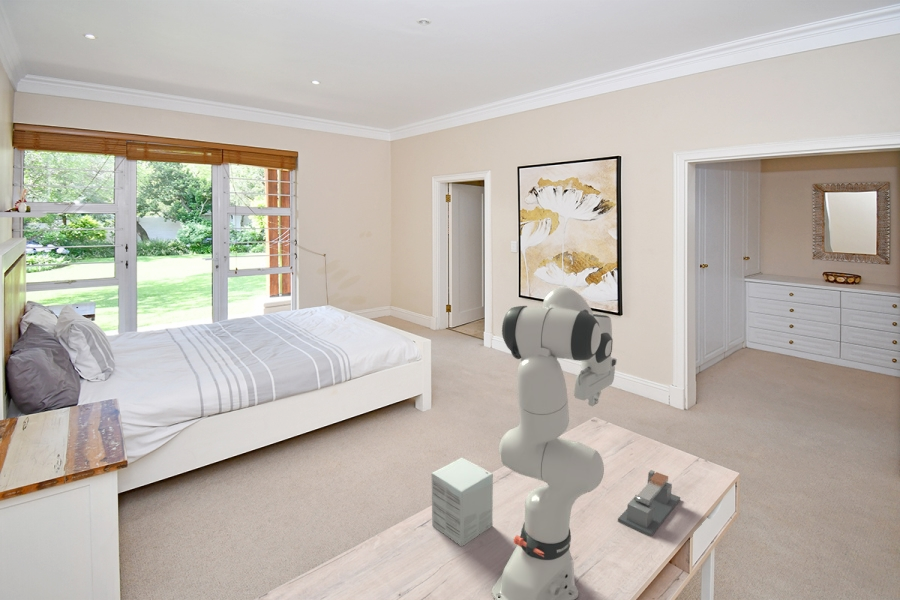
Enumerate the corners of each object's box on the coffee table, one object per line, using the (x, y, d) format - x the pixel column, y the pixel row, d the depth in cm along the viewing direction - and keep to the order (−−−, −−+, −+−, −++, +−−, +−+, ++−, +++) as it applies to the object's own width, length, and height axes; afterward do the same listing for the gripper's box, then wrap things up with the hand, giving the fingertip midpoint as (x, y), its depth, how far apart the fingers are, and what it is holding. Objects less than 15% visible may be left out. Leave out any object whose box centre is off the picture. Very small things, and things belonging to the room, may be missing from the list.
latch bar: (648, 507, 140) (648, 500, 139) (633, 501, 143) (634, 494, 142) (669, 482, 151) (669, 476, 151) (655, 477, 154) (655, 470, 154)
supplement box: (462, 506, 151) (462, 456, 147) (493, 526, 141) (493, 473, 138) (431, 525, 142) (430, 472, 138) (461, 547, 132) (461, 491, 129)
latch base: (651, 537, 136) (653, 509, 134) (617, 521, 143) (619, 494, 141) (680, 500, 153) (682, 474, 151) (649, 487, 160) (651, 463, 158)
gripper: (588, 374, 140) (586, 417, 142) (619, 358, 154) (616, 397, 157) (569, 369, 144) (568, 411, 147) (601, 354, 158) (598, 392, 161)
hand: (593, 404), depth 152 cm, fingers closed
